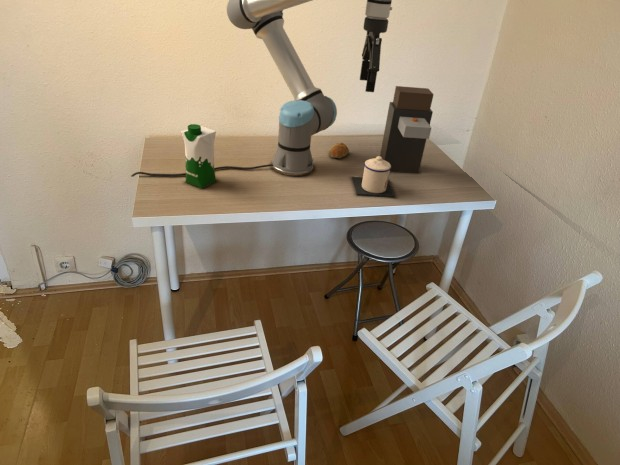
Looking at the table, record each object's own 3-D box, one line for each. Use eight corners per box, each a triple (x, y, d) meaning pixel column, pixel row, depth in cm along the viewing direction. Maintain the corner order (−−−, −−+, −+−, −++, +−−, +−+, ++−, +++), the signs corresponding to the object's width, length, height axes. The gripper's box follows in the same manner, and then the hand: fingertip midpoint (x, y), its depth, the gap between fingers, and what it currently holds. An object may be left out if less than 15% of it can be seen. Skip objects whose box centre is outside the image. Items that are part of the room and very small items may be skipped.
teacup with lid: (389, 194, 162) (396, 163, 156) (364, 193, 161) (369, 162, 155) (380, 178, 172) (386, 148, 166) (356, 178, 171) (361, 147, 165)
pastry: (343, 161, 184) (344, 152, 182) (326, 157, 185) (327, 148, 183) (349, 152, 191) (350, 143, 189) (333, 149, 193) (334, 140, 191)
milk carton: (181, 182, 157) (178, 124, 147) (200, 173, 164) (198, 117, 153) (202, 190, 154) (199, 132, 143) (220, 181, 161) (219, 124, 150)
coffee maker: (424, 184, 173) (444, 103, 156) (387, 182, 171) (403, 100, 155) (413, 164, 187) (430, 88, 171) (378, 162, 186) (392, 85, 170)
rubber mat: (394, 197, 162) (394, 195, 162) (357, 195, 161) (357, 193, 161) (387, 180, 173) (387, 178, 173) (352, 178, 172) (352, 176, 172)
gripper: (396, 25, 138) (384, 97, 150) (381, 12, 159) (371, 76, 171) (371, 23, 138) (360, 96, 149) (359, 10, 158) (350, 74, 170)
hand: (366, 85), depth 160 cm, fingers open, 13 cm apart
